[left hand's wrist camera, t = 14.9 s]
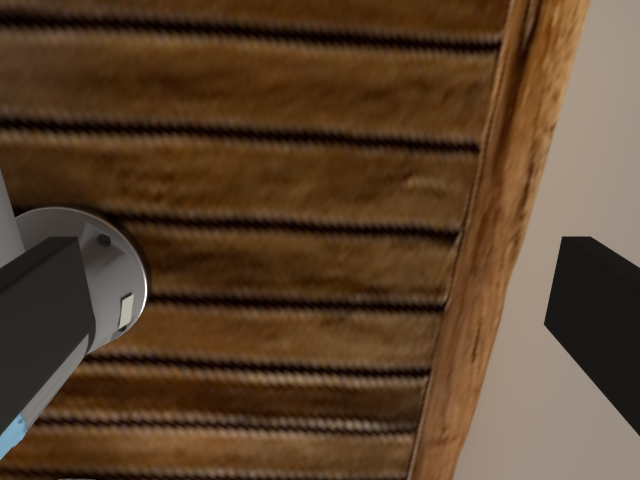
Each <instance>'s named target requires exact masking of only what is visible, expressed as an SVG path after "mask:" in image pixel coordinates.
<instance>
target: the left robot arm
mask: <svg viewBox="0 0 640 480" xmlns="http://www.w3.org/2000/svg"><path fill="white" fill-rule="evenodd" d="M150 293H151V273H150V268H149V265H148V262H147V259H146V257H145V254H144V253H143V251H142V249H141V247H140V246H139V244H138V243H137V241H136V240H135V239H134V238H133V236H132V235H131V234H130V233H129V232H128V231H127V230H126V229H125V228H124V227H123V226H121V225H120V224H119V223H118V222H116V221H115V220H113V219H112V218H110V217H109V216H107V215H105V214H103V213H101V212H99V211H97V210H94V209H92V208H88V207H85V206H81V205H77V204H69V203H54V204H47V205H43V206H39V207H36V208H34V209H31V210H29V211H27V212H26V213H24V214H22V215H20V216H18V217H16V218H15V217H14V213H13V210H12V207H11V203H10V200H9V196H8V193H7V190H6V186H5V183H4V180H3V176H2V173H1V169H0V460H1V459H2V457H3V456H4V455H5V454H6V453H7V452H8V451H9V450H10V449H11V448H12V447H14V446H15V445H17V444H18V443H19V442H20V441H21V440H22V439H23V437H24V436H25V434H26V432H27V431H28V429H29V428H30V427H31V426H32V424H33V423H34V422H35V420H36V419H37V418H38V416H39V415H40V414H41V413H42V411H43V410H44V409H45V407H46V406H47V405H48V403H49V402H50V401H51V400H52V398H53V397H54V396H55V394H56V393H57V392H58V390H59V389H60V388H61V387H62V385H63V384H64V383H65V381H66V380H67V379H68V377H69V376H70V375H71V374H72V372H73V371H74V370H75V368H76V367H77V366H78V364H79V363H80V362H81V360H82V359H83V358H84V357H85V355H86V354H88V353H90V352H92V351H94V350H96V349H97V348H99V347H101V346H103V345H105V344H107V343H109V342H110V341H113V340H114V339H116V338H118V337H119V336H121V335H122V334H123V333H125V332H126V331H127V330H129V329H130V328H131V327H132V326H133V324H134V323H135V322H136V321H137V319H138V318H139V317H140V315H141V314H142V312H143V311H144V309H145V307H146V305H147V303H148V300H149V297H150ZM544 325H545V326H546V328H547V329H548V330H549V331H550V332H551V333H552V334H553V336H554V337H555V338H556V339H557V340H558V341H559V343H560V344H561V345H562V346H563V347H564V348H565V350H566V351H567V352H568V353H569V354H570V355H571V357H572V358H573V359H574V360H575V361H576V362H577V364H578V365H579V366H580V367H581V368H582V369H583V371H584V372H585V373H586V374H587V375H588V376H589V378H590V379H591V380H592V381H593V382H594V383H595V385H596V386H597V387H598V388H599V389H600V390H601V391H602V393H603V394H604V395H605V396H606V397H607V398H608V400H609V401H610V402H611V403H612V404H613V405H614V407H615V408H616V409H617V410H618V411H619V412H620V414H621V415H622V416H623V417H624V418H625V419H626V421H627V422H628V423H629V424H630V425H631V426H632V428H633V429H634V430H635V431H636V432H637V433H638V435H639V436H640V268H639V267H637V266H636V265H634V264H633V263H631V262H630V261H628V260H626V259H625V258H623V257H622V256H620V255H619V254H617V253H615V252H614V251H612V250H611V249H609V248H608V247H606V246H604V245H603V244H601V243H600V242H598V241H597V240H595V239H594V238H592V237H562V240H561V245H560V250H559V254H558V259H557V264H556V269H555V274H554V278H553V283H552V288H551V293H550V297H549V302H548V307H547V312H546V317H545V322H544Z"/></svg>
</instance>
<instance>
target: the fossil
mask: <svg viewBox="0 0 640 480" xmlns="http://www.w3.org/2000/svg"><path fill="white" fill-rule="evenodd" d="M59 480H94V479H72V478H70V479H59Z"/></svg>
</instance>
